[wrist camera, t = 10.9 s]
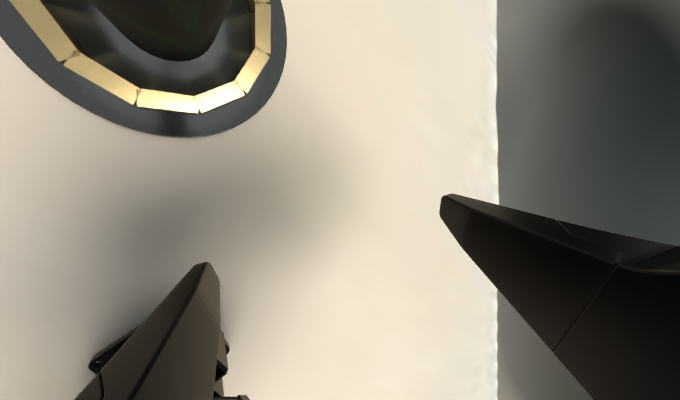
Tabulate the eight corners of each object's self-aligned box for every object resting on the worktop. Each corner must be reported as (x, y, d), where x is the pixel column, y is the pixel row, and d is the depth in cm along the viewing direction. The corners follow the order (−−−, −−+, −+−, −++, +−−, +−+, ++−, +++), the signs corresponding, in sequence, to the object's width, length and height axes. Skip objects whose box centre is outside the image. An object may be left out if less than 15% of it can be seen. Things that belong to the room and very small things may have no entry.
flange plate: (125, 176, 16) (116, 180, 14) (-154, -151, 10) (-231, -215, 8) (314, 90, 21) (324, 85, 19) (209, -160, 15) (210, -201, 13)
